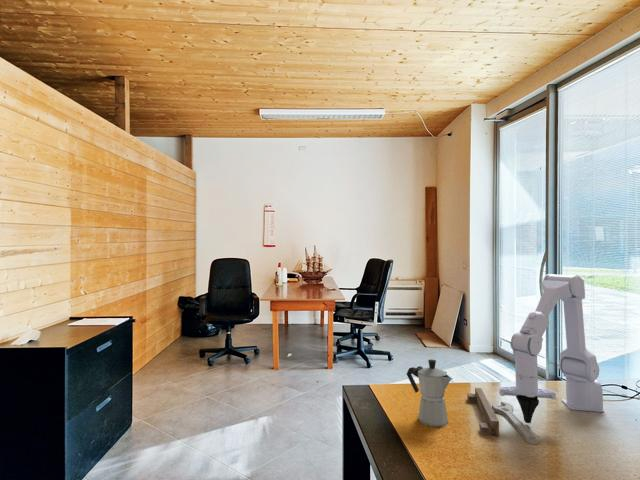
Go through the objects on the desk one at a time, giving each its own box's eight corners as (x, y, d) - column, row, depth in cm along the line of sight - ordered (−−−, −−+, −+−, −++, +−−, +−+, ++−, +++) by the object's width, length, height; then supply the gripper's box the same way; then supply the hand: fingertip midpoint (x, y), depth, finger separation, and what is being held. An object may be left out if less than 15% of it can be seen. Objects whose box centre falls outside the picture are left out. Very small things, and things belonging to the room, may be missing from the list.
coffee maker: (459, 422, 115) (458, 361, 116) (446, 432, 109) (445, 367, 109) (414, 408, 125) (414, 352, 126) (400, 417, 119) (399, 357, 119)
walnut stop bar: (481, 400, 132) (481, 388, 132) (499, 436, 106) (498, 421, 106) (467, 399, 133) (467, 387, 133) (481, 434, 107) (481, 419, 107)
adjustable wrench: (540, 446, 102) (540, 439, 102) (514, 444, 103) (513, 437, 103) (510, 407, 127) (509, 401, 127) (489, 406, 128) (489, 400, 128)
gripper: (502, 377, 111) (503, 425, 111) (559, 380, 108) (560, 430, 108) (497, 369, 118) (498, 415, 118) (550, 372, 115) (551, 419, 114)
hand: (527, 421), depth 113 cm, fingers closed
